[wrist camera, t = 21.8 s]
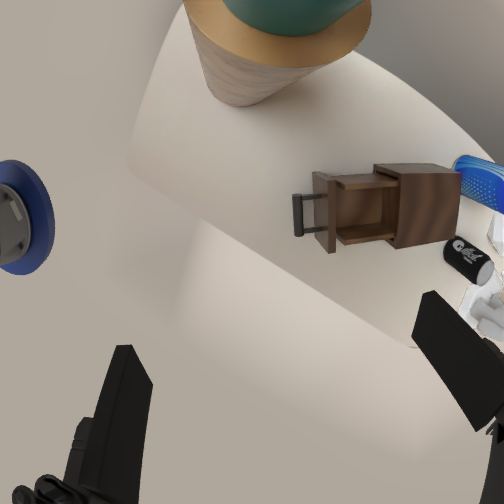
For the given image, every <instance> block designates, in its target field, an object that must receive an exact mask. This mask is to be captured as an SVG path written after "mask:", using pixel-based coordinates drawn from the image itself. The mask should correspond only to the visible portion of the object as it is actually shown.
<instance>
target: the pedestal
mask: <svg viewBox="0 0 504 504" xmlns="http://www.w3.org/2000/svg"><path fill="white" fill-rule="evenodd" d="M183 1H184V6H185V9H186V13H187V16H188V19H189V23H190V26H191V30H192V33H193V37H194V40H195V44H196V47H197V51H198V54H199V58H200V61H201V65H202V68H203V72H204V75H205V79H206V82H207V85H208V87H209V89H210V91H211V92H212V94H213V95H214V96H215V97H216V98H217V99H219V100H220V101H222V102H224V103H226V104H228V105H232V106H239V107H242V106H250V105H253V104H256V103H258V102H260V101H262V100H263V99H265V98H267V97H268V96H270V95H272V94H273V93H275V92H277V91H279V90H280V89H282V88H284V87H286V86H287V85H289V84H291V83H293V82H295V81H296V80H298V79H300V78H302V77H304V76H306V75H308V74H310V73H311V72H313V71H315V70H317V69H319V68H321V67H323V66H325V65H327V64H329V63H331V62H333V61H336V60H338V59H340V58H342V57H343V56H345V55H347V54H348V53H350V52H351V51H352V50H353V49H355V48H356V47H357V46H358V45H359V43H360V42H361V41H362V40H363V38H364V36H365V35H366V33H367V31H368V28H369V25H370V21H371V15H372V13H371V1H370V0H365V1H363V2H362V3H360V4H359V5H358V6H356V7H355V8H353V9H352V10H350V11H349V12H348V13H346V14H345V15H344V16H342V17H341V18H340V19H338V20H337V21H336V22H334V23H333V24H332V25H330V26H329V27H328V28H326V29H324V30H322V31H320V32H317V33H314V34H310V35H305V36H282V35H275V34H271V33H267V32H264V31H261V30H258V29H256V28H254V27H252V26H250V25H248V24H246V23H244V22H243V21H241V20H240V19H239V18H237V17H236V16H235V15H234V14H233V13H232V12H231V11H230V10H229V9H228V8H227V7H226V5H225V3H224V2H223V0H183Z"/></svg>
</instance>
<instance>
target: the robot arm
mask: <svg viewBox="0 0 504 504" xmlns="http://www.w3.org/2000/svg"><path fill="white" fill-rule="evenodd" d="M32 237H33V224H32V218H31V214H30V211H29V208H28V205H27V203H26V201H25V199H24V198H23V196H22V195H21V193H20V192H19V191H18V190H17V189H16V188H15V187H13V186H12V185H10V184H7V183H0V266H1V265H4V264H8V263H11V262H14V261H16V260H18V259H20V258H21V257H22V256H23V255H24V254H26V252H27V251H28V250H29V248H30V245H31V242H32ZM411 337H412V339H413V340H414V341H415V343H416V344H417V345H418V347H419V348H420V349H421V351H422V352H423V353H424V355H425V356H426V358H427V359H428V360H429V362H430V363H431V365H432V366H433V367H434V369H435V370H436V371H437V373H438V375H439V376H440V377H441V379H442V380H443V382H444V383H445V385H446V386H447V388H448V389H449V391H450V392H451V394H452V395H453V397H454V398H455V399H456V401H457V403H458V404H459V406H460V407H461V409H462V410H463V412H464V414H465V415H466V417H467V418H468V420H469V422H470V423H471V425H472V427H473V428H474V430H475V432H477V431H479V430H480V429H482V428H483V427H484V426H486V425H487V424H488V423H489V422H490V421H491V420H492V419H493V417H494V416H495V418H496V420H495V421H494V422H493V423H492V425H491V426H490V427H489V428H488V429H487V431H486V435H487V434H488V433H489V432H490V431H491V430H492V429H493V431H492V432H491V434H490V435H493V438H492V445H491V452H490V458H489V464H488V469H487V475H486V479H485V483H484V488H483V492H482V496H481V499H480V503H479V504H504V354H503V353H502V352H500V349H499V348H498V347H497V346H496V345H495V344H494V343H493V342H492V341H490V340H488V339H487V338H483V339H482V338H481V337H480V336H479V335H478V334H477V333H476V332H475V331H474V330H473V329H472V328H471V326H470V325H469V324H468V323H467V322H466V321H465V320H464V319H463V318H462V317H461V316H460V315H459V314H458V313H457V312H456V311H455V310H454V309H453V308H452V307H451V306H450V305H449V304H448V303H447V302H446V301H445V300H444V299H443V298H442V297H441V296H440V295H439V294H438V293H437V292H436V291H435V290H433V291H430V292H426V293H423V295H422V299H421V303H420V307H419V311H418V315H417V318H416V322H415V325H414V329H413V332H412V336H411ZM152 388H153V384H152V382H151V380H150V378H149V376H148V375H147V373H146V371H145V369H144V367H143V365H142V364H141V362H140V360H139V358H138V356H137V354H136V352H135V350H134V348H133V346H132V345H117V346H116V348H115V351H114V354H113V357H112V360H111V363H110V366H109V368H108V372H107V374H106V378H105V381H104V384H103V387H102V390H101V393H100V396H99V400H98V403H97V406H96V410H95V413H94V417H93V418H89V417H84V418H83V419H82V421H81V422H80V423H79V425H78V426H77V428H76V432H75V435H74V440H73V443H72V449H71V450H70V454H69V458H68V462H67V466H66V471H65V475H64V479H63V482H62V481H61V480H59V479H58V478H56V477H55V476H53V475H49V474H46V475H42V476H41V477H40V478H38V479H37V481H36V483H35V488H34V491H33V490H31V489H30V488H28V487H26V486H24V485H20V486H17V487H16V488H15V489H14V491H13V493H12V503H13V504H138V501H139V489H140V478H141V468H142V458H143V450H144V442H145V434H146V427H147V420H148V413H149V407H150V401H151V395H152Z"/></svg>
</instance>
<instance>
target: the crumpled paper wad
mask: <svg viewBox="0 0 504 504" xmlns="http://www.w3.org/2000/svg"><path fill="white" fill-rule="evenodd" d="M487 235H488V237H489V238H490V240H491V242H492V244H493V245H494V247H495V249H496V250H497V252H498V253H499V255H500V256H501V258H502V257H503V256H504V215H503V214H501V213H499V212H497V211H495V213H494V216H493V219H492V222H491V225H490V228H489V231H488V234H487Z"/></svg>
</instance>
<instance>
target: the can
mask: <svg viewBox="0 0 504 504" xmlns="http://www.w3.org/2000/svg"><path fill="white" fill-rule="evenodd" d="M363 1H365V0H223V2H224V3H225V5H226V7H227V8H228V9H229V10H230V11H231V12H232V13H233V14H234V15H235V16H236V17H237V18H239V19H240V20H241V21H243V22H244V23H246V24H248V25H250V26H252V27H254V28H256V29H258V30H261V31H264V32H267V33H271V34H275V35H282V36H305V35H310V34H314V33H317V32H320V31H322V30H324V29H326V28H328V27H329V26H330V25H332V24H333V23H334V22H336V21H337V20H338V19H340V18H341V17H342V16H344V15H345V14H346V13H348V12H349V11H350V10H352V9H353V8H355V7H356V6H358V5H359V4H360V3H362V2H363Z"/></svg>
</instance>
